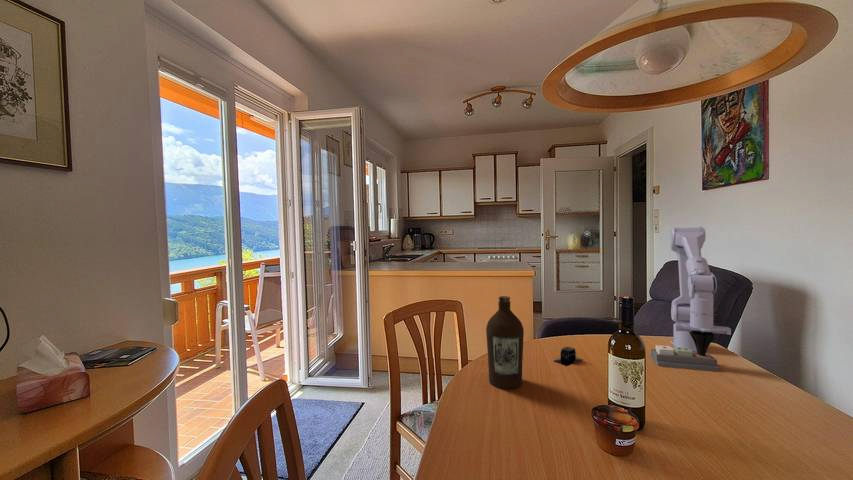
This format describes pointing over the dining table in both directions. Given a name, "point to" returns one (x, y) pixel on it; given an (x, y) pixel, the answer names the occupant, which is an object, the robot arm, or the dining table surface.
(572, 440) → the dining table surface
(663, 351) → the key one pip
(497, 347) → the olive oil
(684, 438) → the dining table surface
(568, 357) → the black block
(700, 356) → the key three pip
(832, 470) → the dining table surface
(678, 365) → the keypad base
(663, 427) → the dining table surface
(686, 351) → the key two pip
